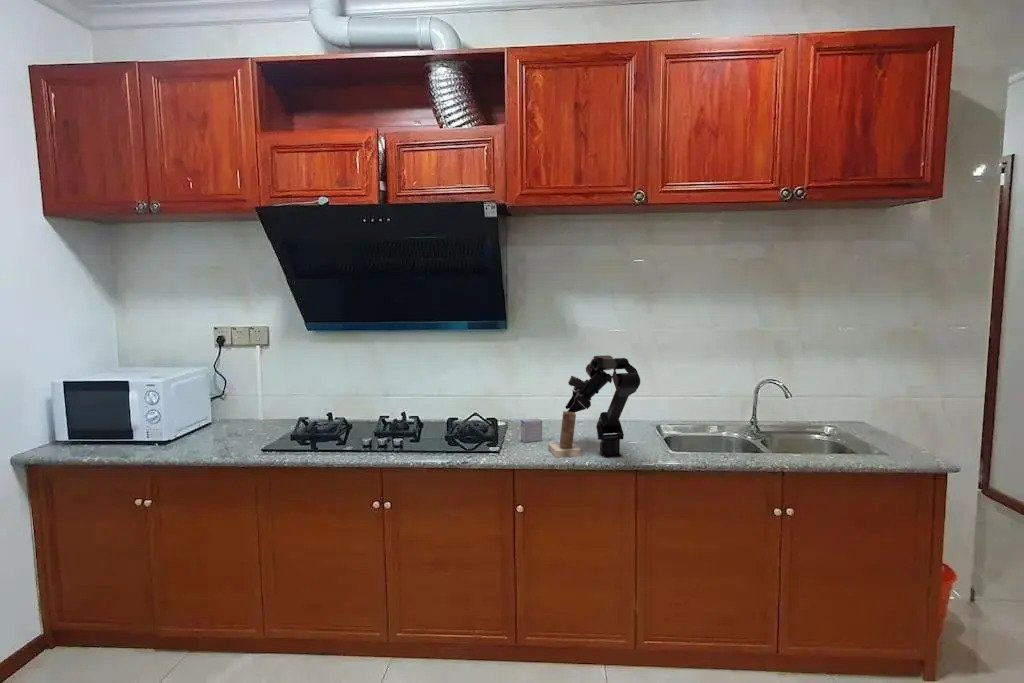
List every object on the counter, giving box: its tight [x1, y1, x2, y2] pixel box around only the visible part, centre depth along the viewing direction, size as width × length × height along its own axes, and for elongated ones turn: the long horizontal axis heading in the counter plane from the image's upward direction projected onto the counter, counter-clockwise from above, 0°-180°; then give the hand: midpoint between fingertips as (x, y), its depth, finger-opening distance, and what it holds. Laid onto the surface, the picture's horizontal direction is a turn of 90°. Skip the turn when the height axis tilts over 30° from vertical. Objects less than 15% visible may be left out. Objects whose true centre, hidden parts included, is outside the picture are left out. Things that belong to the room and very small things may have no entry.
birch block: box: [548, 442, 582, 459], centre depth 228 cm, size 10×10×3 cm
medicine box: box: [520, 417, 543, 443], centre depth 246 cm, size 8×4×9 cm, turn 111°
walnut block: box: [559, 410, 577, 449], centre depth 227 cm, size 4×4×13 cm
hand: (566, 411), depth 237 cm, fingers open, 9 cm apart
